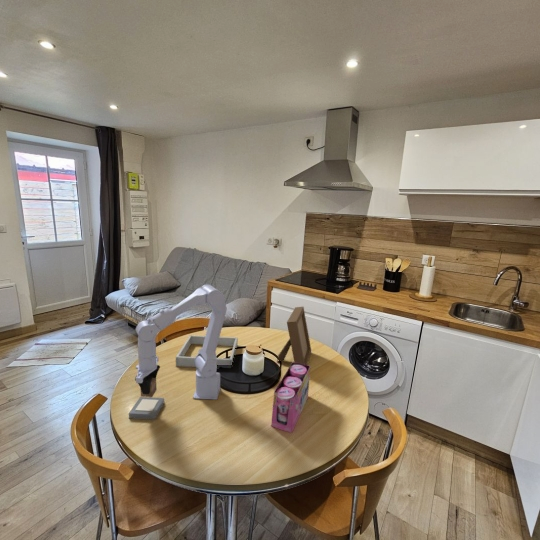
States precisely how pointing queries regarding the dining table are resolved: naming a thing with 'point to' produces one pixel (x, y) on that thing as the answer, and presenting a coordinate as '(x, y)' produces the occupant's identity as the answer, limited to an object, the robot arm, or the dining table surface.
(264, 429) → the dining table surface
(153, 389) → the walnut block
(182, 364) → the grey corral
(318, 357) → the dining table surface
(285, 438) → the dining table surface
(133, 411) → the plate
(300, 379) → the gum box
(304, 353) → the photo frame
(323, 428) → the dining table surface
